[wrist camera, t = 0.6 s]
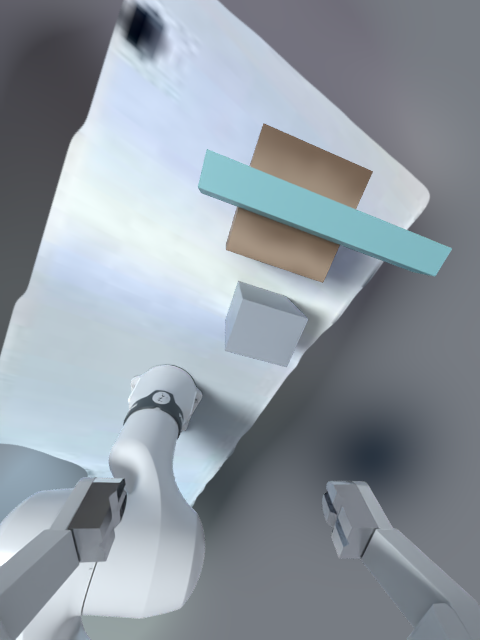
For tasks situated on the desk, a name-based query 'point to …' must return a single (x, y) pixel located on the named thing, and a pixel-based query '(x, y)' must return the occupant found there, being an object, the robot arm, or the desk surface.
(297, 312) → the slate base
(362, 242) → the teal bar
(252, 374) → the desk surface
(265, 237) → the walnut pedestal
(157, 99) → the desk surface
